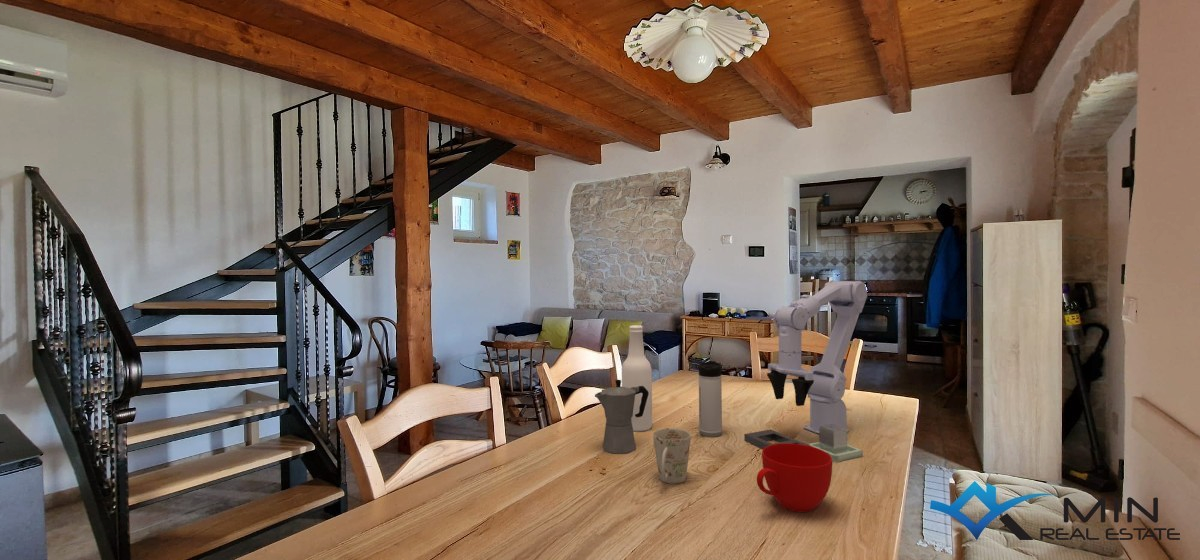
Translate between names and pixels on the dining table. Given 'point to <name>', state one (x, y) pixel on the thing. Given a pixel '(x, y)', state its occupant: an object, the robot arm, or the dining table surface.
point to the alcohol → (638, 378)
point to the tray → (850, 453)
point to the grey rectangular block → (833, 438)
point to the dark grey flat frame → (769, 438)
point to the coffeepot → (620, 416)
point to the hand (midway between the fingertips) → (789, 402)
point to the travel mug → (710, 399)
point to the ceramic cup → (796, 475)
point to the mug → (672, 454)
